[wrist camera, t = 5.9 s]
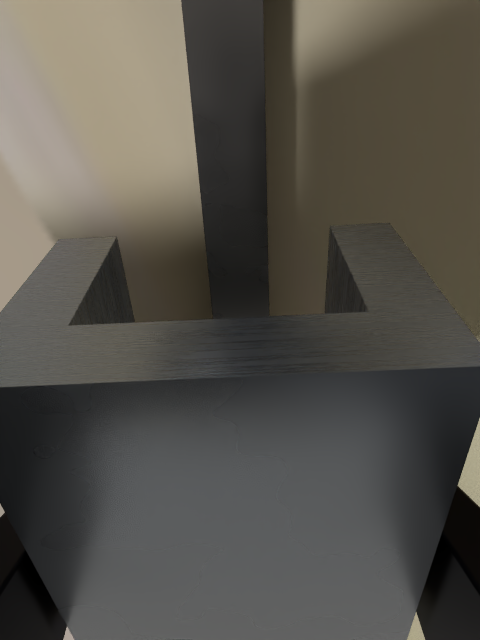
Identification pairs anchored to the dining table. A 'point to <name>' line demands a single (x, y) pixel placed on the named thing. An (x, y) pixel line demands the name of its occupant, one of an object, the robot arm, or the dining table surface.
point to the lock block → (235, 449)
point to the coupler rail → (231, 149)
